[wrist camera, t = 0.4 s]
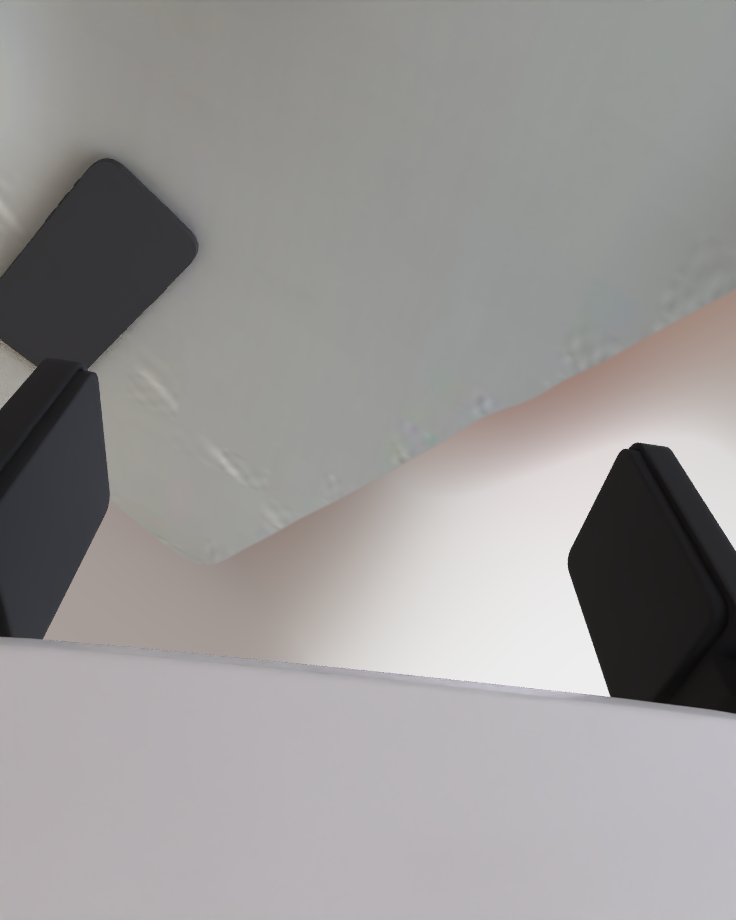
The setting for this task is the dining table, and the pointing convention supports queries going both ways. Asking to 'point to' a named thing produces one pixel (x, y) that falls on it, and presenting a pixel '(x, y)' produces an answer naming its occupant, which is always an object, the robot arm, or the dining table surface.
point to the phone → (92, 268)
